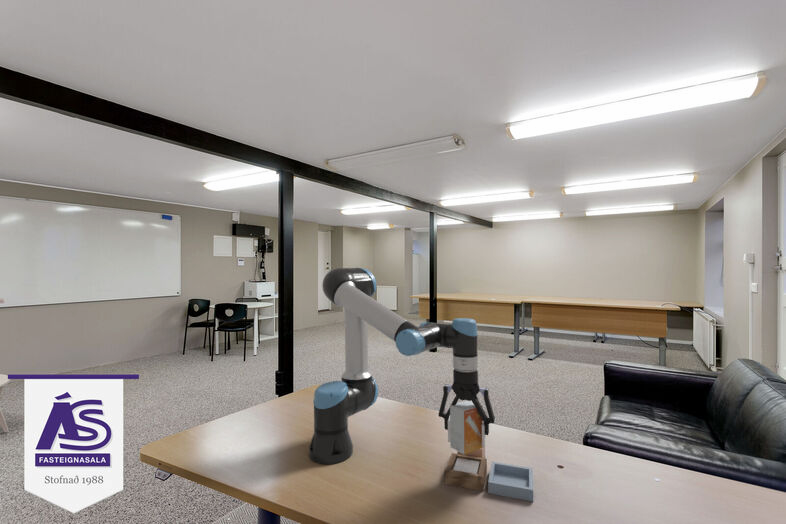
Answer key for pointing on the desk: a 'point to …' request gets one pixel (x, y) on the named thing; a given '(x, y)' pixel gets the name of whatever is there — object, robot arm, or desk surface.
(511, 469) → the tray
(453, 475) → the brown wooden square tray
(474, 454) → the pink open box
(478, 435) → the small box
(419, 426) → the desk surface
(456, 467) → the plate
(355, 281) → the robot arm
